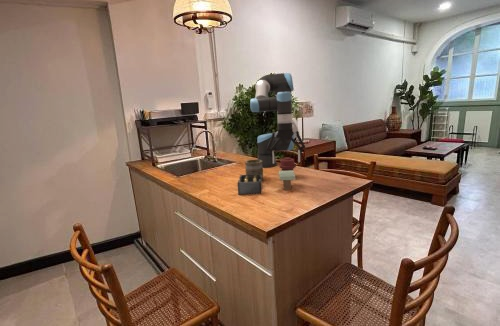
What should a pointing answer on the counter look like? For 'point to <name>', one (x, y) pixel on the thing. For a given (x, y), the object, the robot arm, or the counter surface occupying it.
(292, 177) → the board
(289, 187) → the block
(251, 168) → the mug
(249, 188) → the frame
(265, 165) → the robot arm
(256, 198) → the counter surface
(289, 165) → the mechanical component
